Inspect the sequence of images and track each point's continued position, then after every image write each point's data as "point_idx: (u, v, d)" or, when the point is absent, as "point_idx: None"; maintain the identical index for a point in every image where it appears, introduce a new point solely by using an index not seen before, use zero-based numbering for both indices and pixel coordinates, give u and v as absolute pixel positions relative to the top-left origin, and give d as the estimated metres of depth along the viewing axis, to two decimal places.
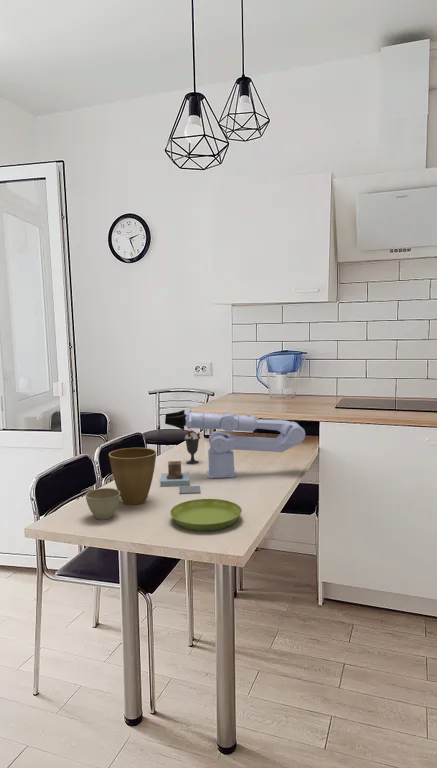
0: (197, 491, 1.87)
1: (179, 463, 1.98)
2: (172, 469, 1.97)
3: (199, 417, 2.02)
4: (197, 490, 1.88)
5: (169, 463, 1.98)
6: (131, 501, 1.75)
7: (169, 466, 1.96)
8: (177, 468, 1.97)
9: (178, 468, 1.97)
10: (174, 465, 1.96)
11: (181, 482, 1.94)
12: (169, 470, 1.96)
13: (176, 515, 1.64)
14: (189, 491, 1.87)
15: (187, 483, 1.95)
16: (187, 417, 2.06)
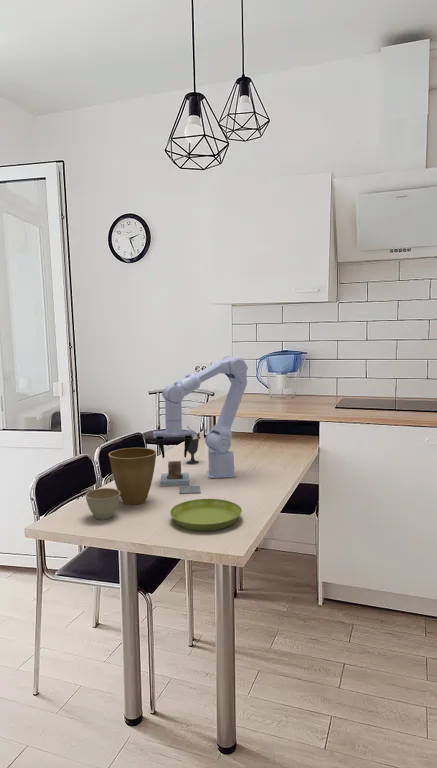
0: (197, 491, 1.87)
1: (179, 463, 1.98)
2: (172, 469, 1.97)
3: (180, 423, 1.95)
4: (197, 490, 1.88)
5: (169, 463, 1.98)
6: (131, 501, 1.75)
7: (169, 466, 1.96)
8: (177, 468, 1.97)
9: (178, 468, 1.97)
10: (174, 465, 1.96)
11: (181, 482, 1.94)
12: (169, 470, 1.96)
13: (176, 515, 1.64)
14: (189, 491, 1.87)
15: (187, 483, 1.95)
16: (168, 435, 1.97)
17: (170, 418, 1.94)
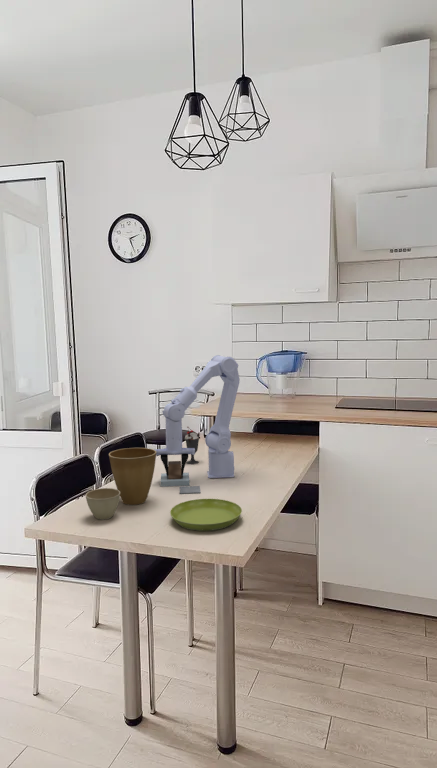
0: (197, 491, 1.87)
1: (179, 463, 1.98)
2: (172, 469, 1.96)
3: (180, 441, 1.96)
4: (197, 490, 1.88)
5: (169, 463, 1.98)
6: (131, 501, 1.75)
7: (169, 466, 1.96)
8: (177, 468, 1.97)
9: (178, 468, 1.97)
10: (174, 465, 1.96)
11: (181, 482, 1.94)
12: (169, 470, 1.96)
13: (176, 515, 1.64)
14: (189, 491, 1.87)
15: (187, 483, 1.95)
16: (168, 453, 1.97)
17: (170, 436, 1.95)
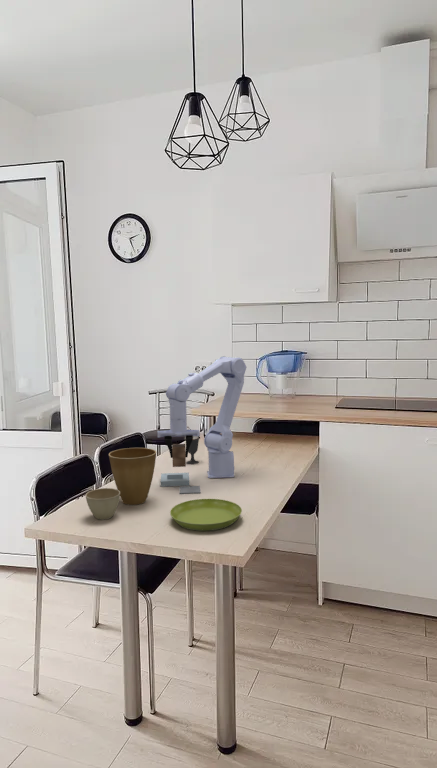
0: (197, 491, 1.87)
1: (183, 446, 1.94)
2: (176, 452, 1.92)
3: (185, 423, 1.92)
4: (197, 490, 1.88)
5: (173, 446, 1.94)
6: (131, 501, 1.75)
7: (173, 448, 1.92)
8: (181, 451, 1.92)
9: (182, 451, 1.93)
10: (178, 447, 1.92)
11: (181, 482, 1.94)
12: (173, 453, 1.92)
13: (176, 515, 1.64)
14: (189, 491, 1.87)
15: (187, 483, 1.95)
16: (172, 434, 1.93)
17: (176, 417, 1.90)
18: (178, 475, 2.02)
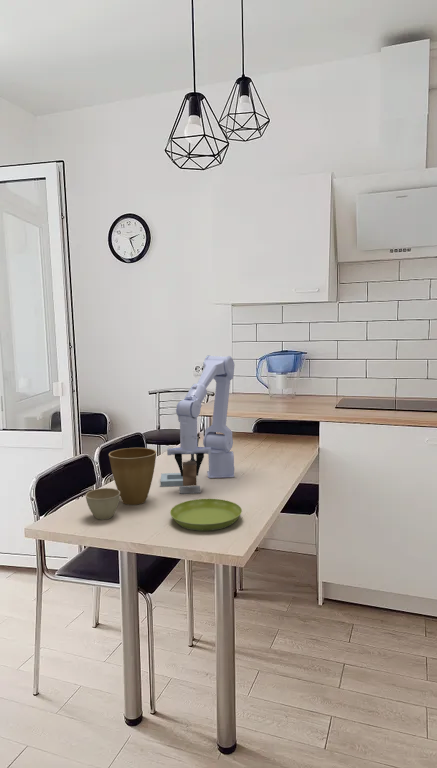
0: (197, 491, 1.87)
1: (194, 464, 1.88)
2: (187, 470, 1.86)
3: (196, 440, 1.86)
4: (197, 490, 1.88)
5: (183, 464, 1.88)
6: (131, 501, 1.75)
7: (184, 467, 1.86)
8: (192, 469, 1.86)
9: (193, 469, 1.87)
10: (189, 466, 1.86)
11: (181, 482, 1.94)
12: (184, 471, 1.86)
13: (176, 515, 1.64)
14: (189, 491, 1.87)
15: None
16: None
17: (190, 435, 1.84)
18: (178, 475, 2.02)
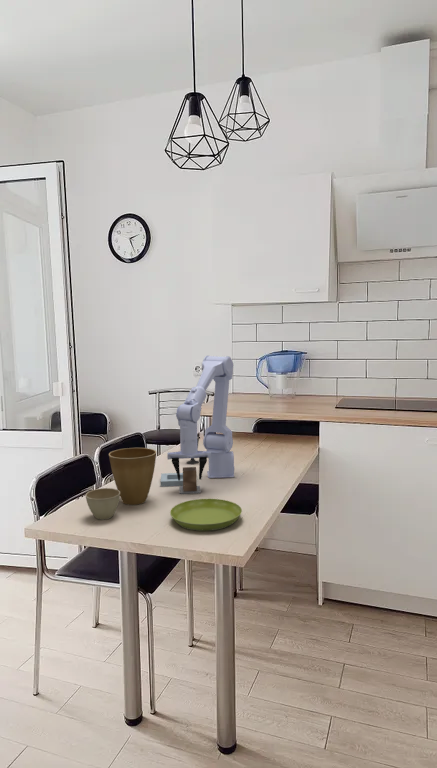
0: (197, 491, 1.87)
1: (194, 469, 1.88)
2: (187, 476, 1.87)
3: (196, 444, 1.86)
4: (197, 490, 1.88)
5: (184, 469, 1.88)
6: (131, 501, 1.75)
7: (184, 472, 1.86)
8: (192, 474, 1.87)
9: (193, 474, 1.87)
10: (189, 471, 1.87)
11: (181, 482, 1.94)
12: (184, 477, 1.87)
13: (176, 515, 1.64)
14: (189, 491, 1.87)
15: None
16: (183, 456, 1.87)
17: (190, 439, 1.84)
18: None
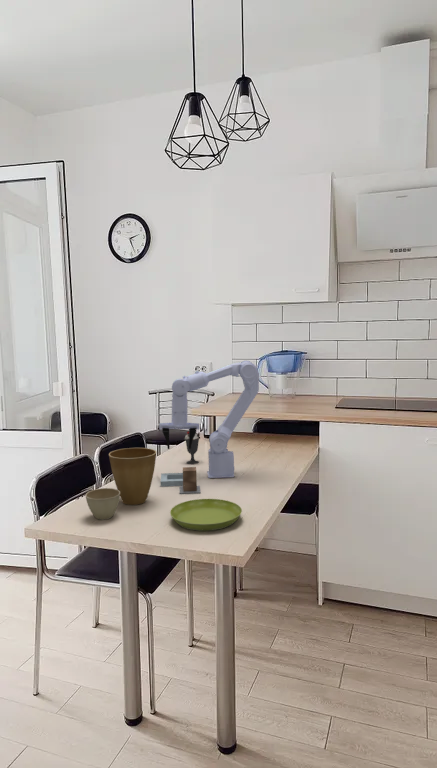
0: (197, 491, 1.87)
1: (194, 469, 1.88)
2: (187, 476, 1.87)
3: (186, 416, 2.02)
4: (197, 490, 1.88)
5: (184, 469, 1.88)
6: (131, 501, 1.75)
7: (184, 472, 1.86)
8: (192, 474, 1.87)
9: (193, 474, 1.87)
10: (189, 471, 1.87)
11: (181, 482, 1.94)
12: (184, 477, 1.87)
13: (176, 515, 1.64)
14: (189, 491, 1.87)
15: None
16: (174, 427, 2.03)
17: (174, 410, 2.01)
18: (178, 475, 2.02)
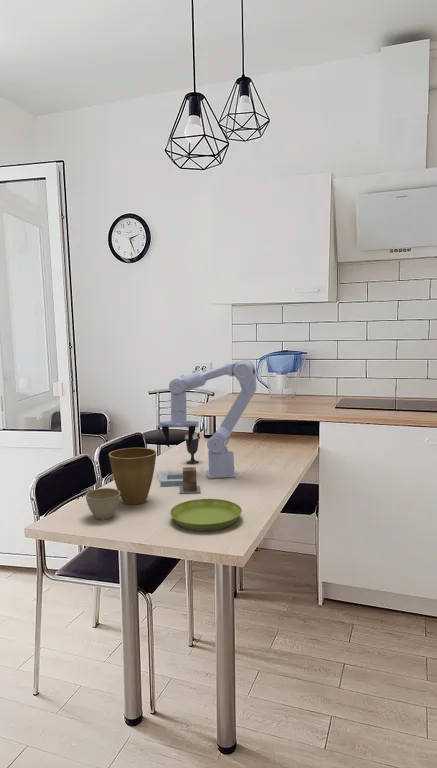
0: (197, 491, 1.87)
1: (194, 469, 1.88)
2: (187, 476, 1.87)
3: (185, 414, 2.06)
4: (197, 490, 1.88)
5: (184, 469, 1.88)
6: (131, 501, 1.75)
7: (184, 472, 1.86)
8: (192, 474, 1.87)
9: (193, 474, 1.87)
10: (189, 471, 1.87)
11: (181, 482, 1.94)
12: (184, 477, 1.87)
13: (176, 515, 1.64)
14: (189, 491, 1.87)
15: None
16: (173, 425, 2.07)
17: (171, 408, 2.05)
18: (178, 475, 2.02)
